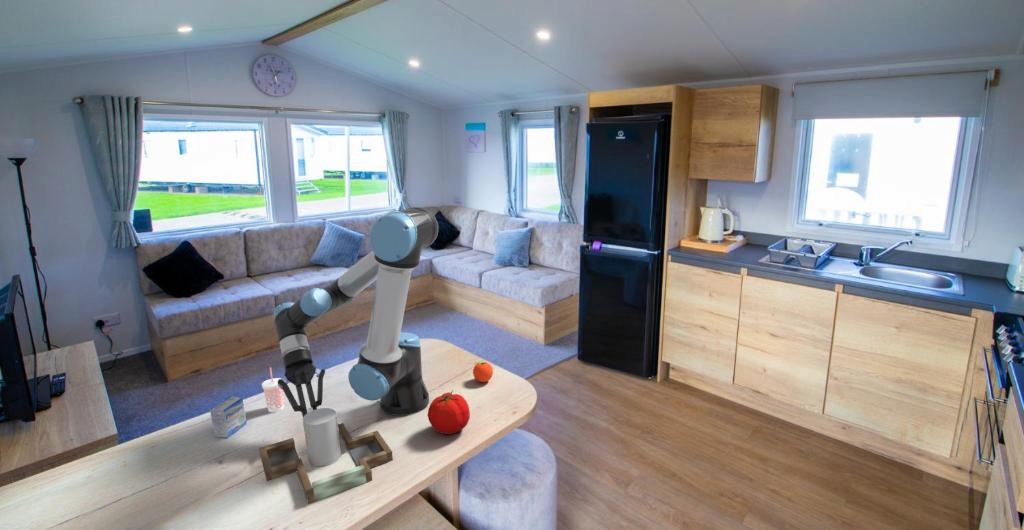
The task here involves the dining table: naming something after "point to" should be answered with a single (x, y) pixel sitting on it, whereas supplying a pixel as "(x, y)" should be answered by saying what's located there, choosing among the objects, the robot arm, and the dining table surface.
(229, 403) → the medicine box
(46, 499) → the dining table surface
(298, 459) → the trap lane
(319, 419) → the gray cylinder
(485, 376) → the clementine
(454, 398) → the tomato
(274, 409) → the beverage cup
